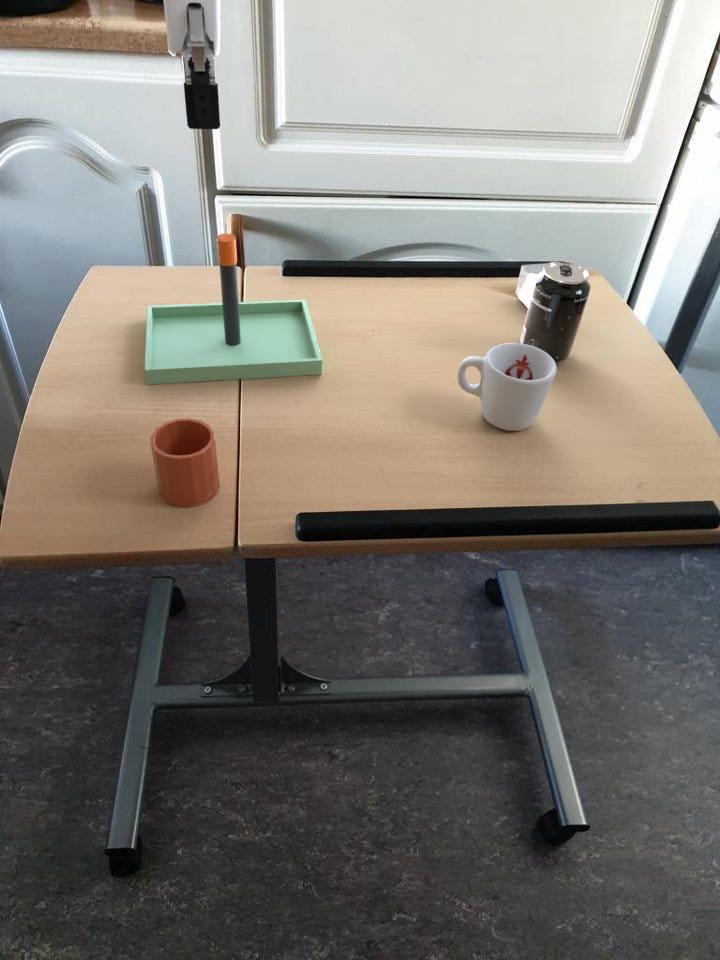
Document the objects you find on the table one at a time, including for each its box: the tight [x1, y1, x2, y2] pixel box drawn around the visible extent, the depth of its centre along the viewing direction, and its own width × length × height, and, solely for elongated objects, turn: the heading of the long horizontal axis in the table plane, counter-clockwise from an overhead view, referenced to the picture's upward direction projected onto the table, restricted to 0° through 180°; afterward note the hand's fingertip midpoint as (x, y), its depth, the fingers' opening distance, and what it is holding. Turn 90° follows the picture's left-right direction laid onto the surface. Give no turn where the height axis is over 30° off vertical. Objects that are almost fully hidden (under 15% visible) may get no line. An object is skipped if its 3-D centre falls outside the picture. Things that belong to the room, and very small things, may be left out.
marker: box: [216, 233, 241, 346], centre depth 86 cm, size 2×2×14 cm
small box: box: [514, 262, 549, 309], centre depth 104 cm, size 6×6×5 cm
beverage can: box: [519, 260, 591, 364], centre depth 91 cm, size 7×7×12 cm
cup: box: [457, 342, 558, 432], centre depth 82 cm, size 11×8×8 cm
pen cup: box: [150, 417, 220, 508], centre depth 70 cm, size 6×6×6 cm
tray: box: [144, 299, 323, 386], centre depth 91 cm, size 21×15×2 cm
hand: (202, 113), depth 74 cm, fingers open, 9 cm apart
